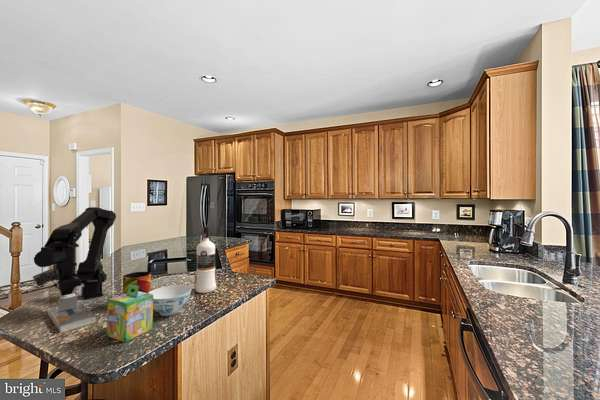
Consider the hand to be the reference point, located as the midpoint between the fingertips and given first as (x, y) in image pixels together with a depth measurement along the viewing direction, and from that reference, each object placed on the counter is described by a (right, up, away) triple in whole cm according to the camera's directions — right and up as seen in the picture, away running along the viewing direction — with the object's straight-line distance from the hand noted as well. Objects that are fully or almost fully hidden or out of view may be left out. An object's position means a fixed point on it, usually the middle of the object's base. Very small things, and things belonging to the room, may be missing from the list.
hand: (65, 302), depth 97 cm
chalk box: (+36, -4, -16) cm, 39 cm away
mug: (+22, -4, +9) cm, 24 cm away
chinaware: (+40, -4, -1) cm, 40 cm away
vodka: (+45, -4, +23) cm, 51 cm away
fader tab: (+3, -1, -3) cm, 4 cm away
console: (+7, -4, -6) cm, 10 cm away
